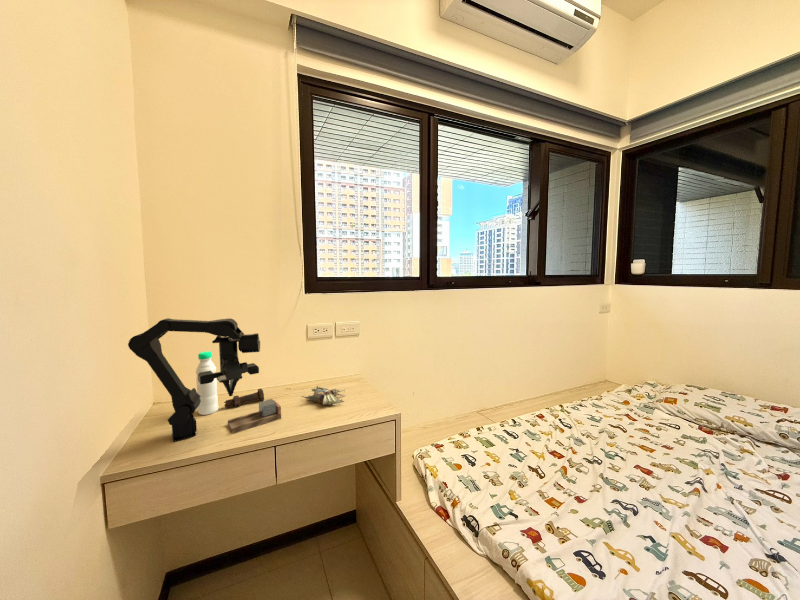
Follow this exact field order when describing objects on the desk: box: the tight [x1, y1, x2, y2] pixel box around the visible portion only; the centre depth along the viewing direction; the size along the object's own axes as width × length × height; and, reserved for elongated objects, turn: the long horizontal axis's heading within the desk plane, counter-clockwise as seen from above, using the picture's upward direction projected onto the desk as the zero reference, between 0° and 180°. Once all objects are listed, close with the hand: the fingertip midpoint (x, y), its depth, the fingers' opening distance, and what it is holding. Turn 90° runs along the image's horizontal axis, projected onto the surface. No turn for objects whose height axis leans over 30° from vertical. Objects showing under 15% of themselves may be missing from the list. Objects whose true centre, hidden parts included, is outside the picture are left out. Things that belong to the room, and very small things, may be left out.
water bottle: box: [195, 351, 219, 416], centre depth 125 cm, size 7×7×25 cm
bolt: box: [223, 388, 265, 409], centre depth 133 cm, size 6×5×15 cm
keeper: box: [258, 398, 277, 418], centre depth 120 cm, size 5×5×5 cm
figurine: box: [300, 384, 347, 406], centre depth 135 cm, size 20×6×17 cm
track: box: [227, 400, 282, 434], centre depth 117 cm, size 17×8×5 cm, turn 131°
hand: (230, 395), depth 111 cm, fingers closed
